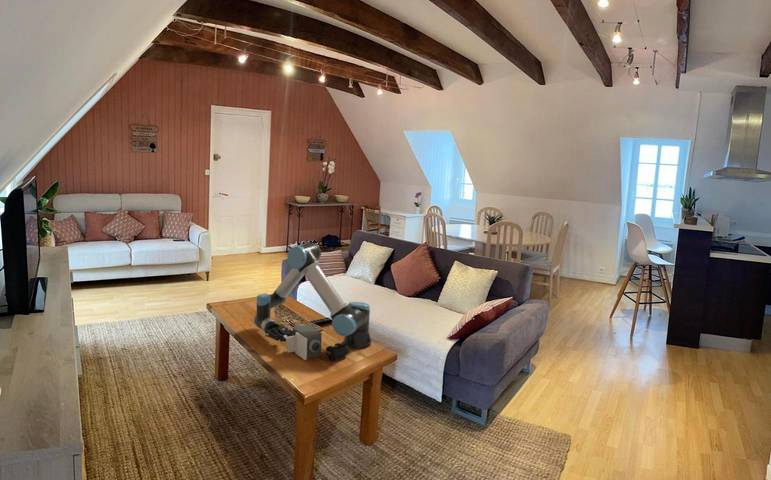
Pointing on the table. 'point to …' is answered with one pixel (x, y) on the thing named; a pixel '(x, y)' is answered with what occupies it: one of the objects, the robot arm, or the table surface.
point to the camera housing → (310, 339)
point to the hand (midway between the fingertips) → (290, 342)
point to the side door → (297, 345)
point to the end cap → (337, 351)
